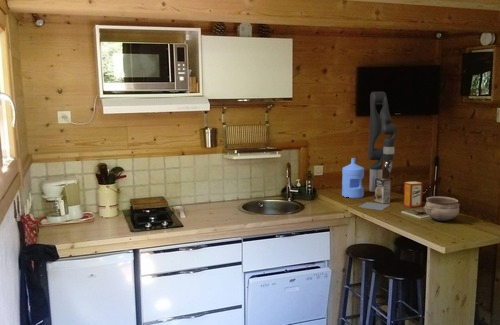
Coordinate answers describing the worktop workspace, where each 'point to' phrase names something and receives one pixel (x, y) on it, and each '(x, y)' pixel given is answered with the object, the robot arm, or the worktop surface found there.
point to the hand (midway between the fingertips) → (388, 177)
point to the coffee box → (382, 190)
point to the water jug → (352, 180)
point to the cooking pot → (442, 208)
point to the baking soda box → (413, 194)
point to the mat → (374, 206)
